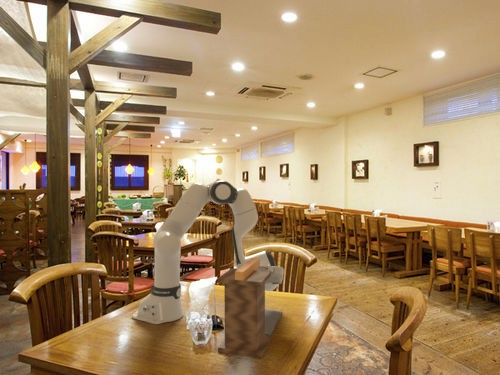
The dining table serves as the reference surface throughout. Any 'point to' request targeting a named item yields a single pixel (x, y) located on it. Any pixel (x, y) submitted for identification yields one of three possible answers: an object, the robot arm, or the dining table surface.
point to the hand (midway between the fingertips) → (256, 265)
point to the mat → (271, 320)
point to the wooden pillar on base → (245, 314)
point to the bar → (247, 269)
